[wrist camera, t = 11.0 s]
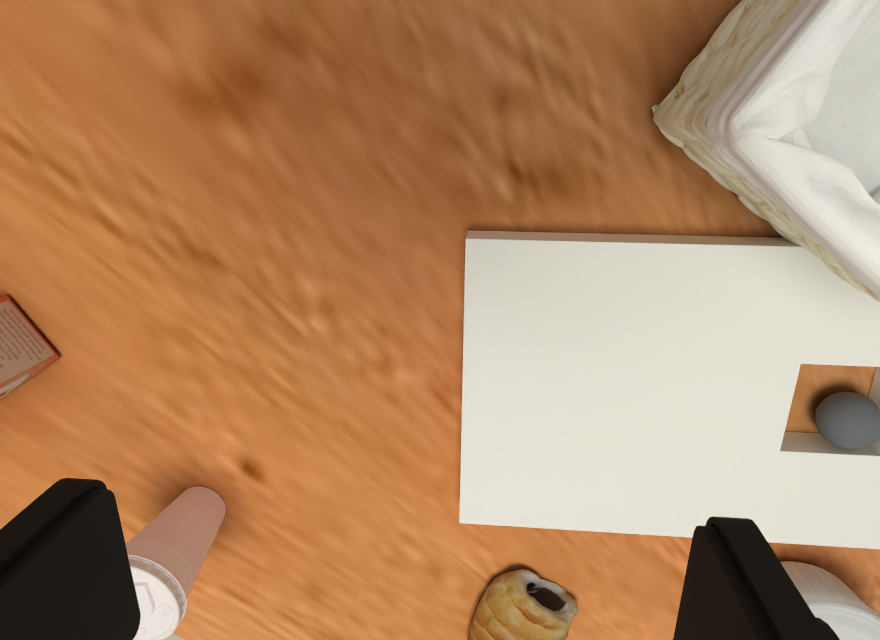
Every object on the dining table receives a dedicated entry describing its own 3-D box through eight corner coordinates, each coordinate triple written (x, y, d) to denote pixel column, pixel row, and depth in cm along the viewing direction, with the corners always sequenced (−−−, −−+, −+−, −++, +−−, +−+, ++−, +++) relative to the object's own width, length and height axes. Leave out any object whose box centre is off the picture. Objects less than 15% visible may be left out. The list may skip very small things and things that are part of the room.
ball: (872, 428, 33) (906, 406, 35) (813, 392, 36) (847, 373, 37) (849, 469, 35) (882, 446, 37) (795, 432, 38) (828, 412, 39)
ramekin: (835, 668, 45) (877, 737, 40) (688, 654, 46) (712, 720, 41) (877, 553, 41) (929, 613, 36) (716, 540, 42) (746, 597, 37)
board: (461, 500, 43) (459, 522, 40) (467, 230, 36) (465, 238, 34) (922, 527, 40) (949, 553, 38) (1023, 243, 33) (1063, 253, 31)
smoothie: (258, 503, 44) (159, 667, 31) (218, 553, 46) (109, 728, 33) (186, 456, 43) (53, 605, 30) (148, 509, 46) (8, 671, 32)
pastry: (516, 665, 48) (518, 709, 44) (446, 628, 47) (442, 670, 44) (582, 592, 45) (589, 633, 41) (508, 552, 44) (509, 590, 41)
